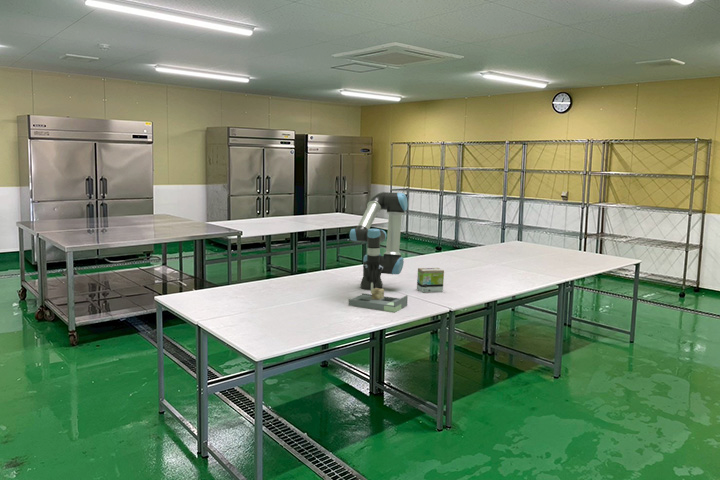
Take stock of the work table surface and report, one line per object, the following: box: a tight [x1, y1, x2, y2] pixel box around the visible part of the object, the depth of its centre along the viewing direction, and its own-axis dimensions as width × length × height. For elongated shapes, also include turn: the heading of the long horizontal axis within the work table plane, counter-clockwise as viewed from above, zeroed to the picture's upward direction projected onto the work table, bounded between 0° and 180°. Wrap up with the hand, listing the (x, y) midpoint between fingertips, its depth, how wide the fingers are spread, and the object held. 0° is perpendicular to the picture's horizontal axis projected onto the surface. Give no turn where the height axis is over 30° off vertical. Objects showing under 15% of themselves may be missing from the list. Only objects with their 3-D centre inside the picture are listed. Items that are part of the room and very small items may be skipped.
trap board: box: [348, 293, 409, 313], centre depth 330 cm, size 30×18×6 cm, turn 63°
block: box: [371, 288, 385, 300], centre depth 335 cm, size 6×6×6 cm
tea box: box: [416, 267, 445, 293], centre depth 370 cm, size 15×10×15 cm
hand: (372, 293), depth 337 cm, fingers closed
